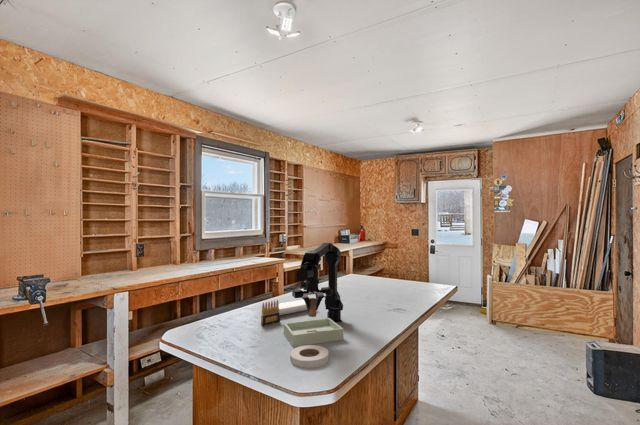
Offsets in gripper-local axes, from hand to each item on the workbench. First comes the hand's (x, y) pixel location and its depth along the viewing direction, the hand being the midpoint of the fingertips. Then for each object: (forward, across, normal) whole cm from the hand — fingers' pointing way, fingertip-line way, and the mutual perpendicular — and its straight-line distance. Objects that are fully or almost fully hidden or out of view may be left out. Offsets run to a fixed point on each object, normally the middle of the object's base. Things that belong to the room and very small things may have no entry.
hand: (312, 310), depth 152 cm
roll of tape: (+13, +9, +23) cm, 28 cm away
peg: (+2, 0, 0) cm, 2 cm away
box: (+12, 0, 0) cm, 12 cm away
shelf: (+13, 0, -43) cm, 45 cm away
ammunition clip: (+12, +15, -27) cm, 33 cm away
